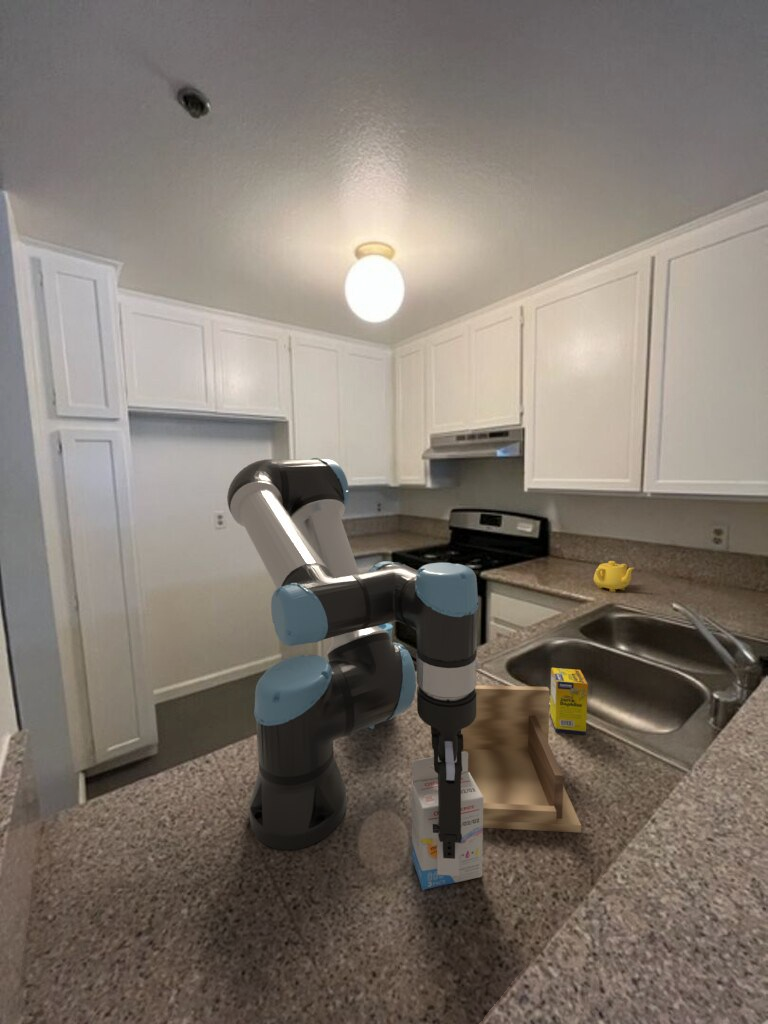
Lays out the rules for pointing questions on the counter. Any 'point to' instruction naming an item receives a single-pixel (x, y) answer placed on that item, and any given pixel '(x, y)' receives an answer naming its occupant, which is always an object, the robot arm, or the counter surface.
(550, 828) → the shelf
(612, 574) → the teapot
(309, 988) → the counter surface
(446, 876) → the ink box
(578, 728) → the supplement box
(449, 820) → the robot arm
